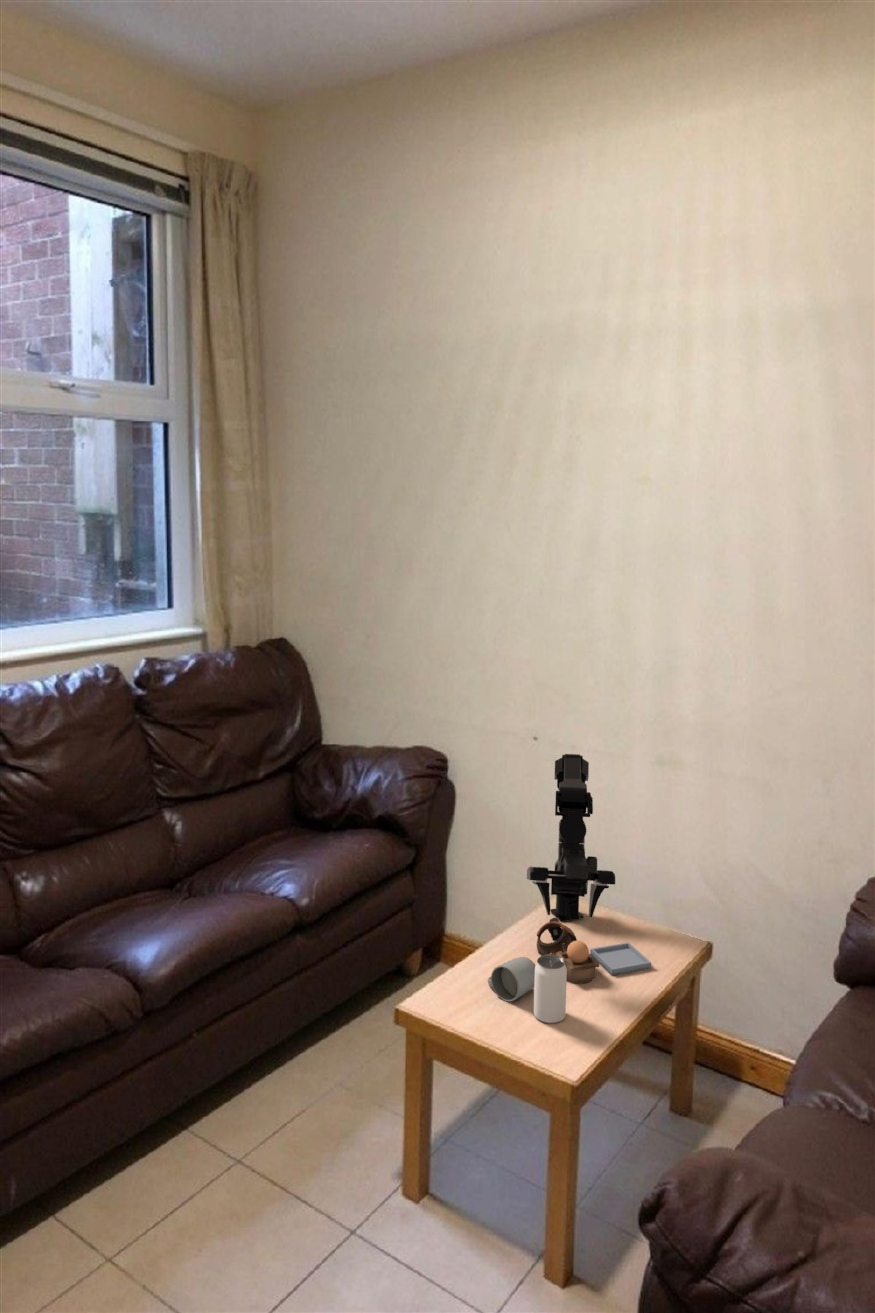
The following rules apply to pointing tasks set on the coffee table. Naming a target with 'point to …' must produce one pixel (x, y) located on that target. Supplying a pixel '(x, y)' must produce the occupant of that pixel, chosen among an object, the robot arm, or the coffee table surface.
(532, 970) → the ceramic mug
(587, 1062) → the coffee table surface
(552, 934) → the pottery mug
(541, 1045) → the coffee table surface
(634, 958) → the tray
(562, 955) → the open wooden box
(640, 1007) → the coffee table surface
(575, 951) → the ball
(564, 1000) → the can
